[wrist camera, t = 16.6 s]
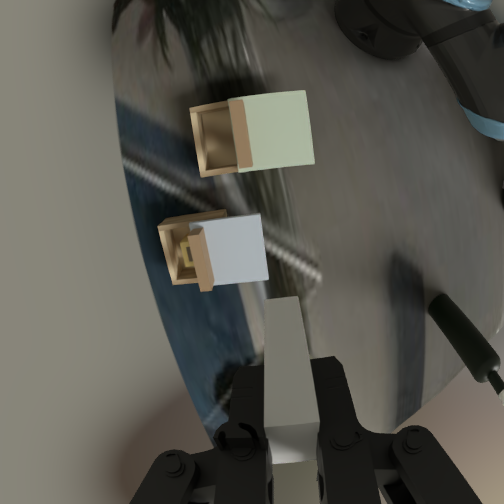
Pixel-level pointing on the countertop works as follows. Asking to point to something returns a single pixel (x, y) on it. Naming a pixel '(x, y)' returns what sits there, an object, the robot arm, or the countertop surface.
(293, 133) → the lid near
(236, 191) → the countertop surface
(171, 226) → the box far
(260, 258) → the lid far
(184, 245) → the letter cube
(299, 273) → the countertop surface
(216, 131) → the box near
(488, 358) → the wine bottle
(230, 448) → the robot arm
